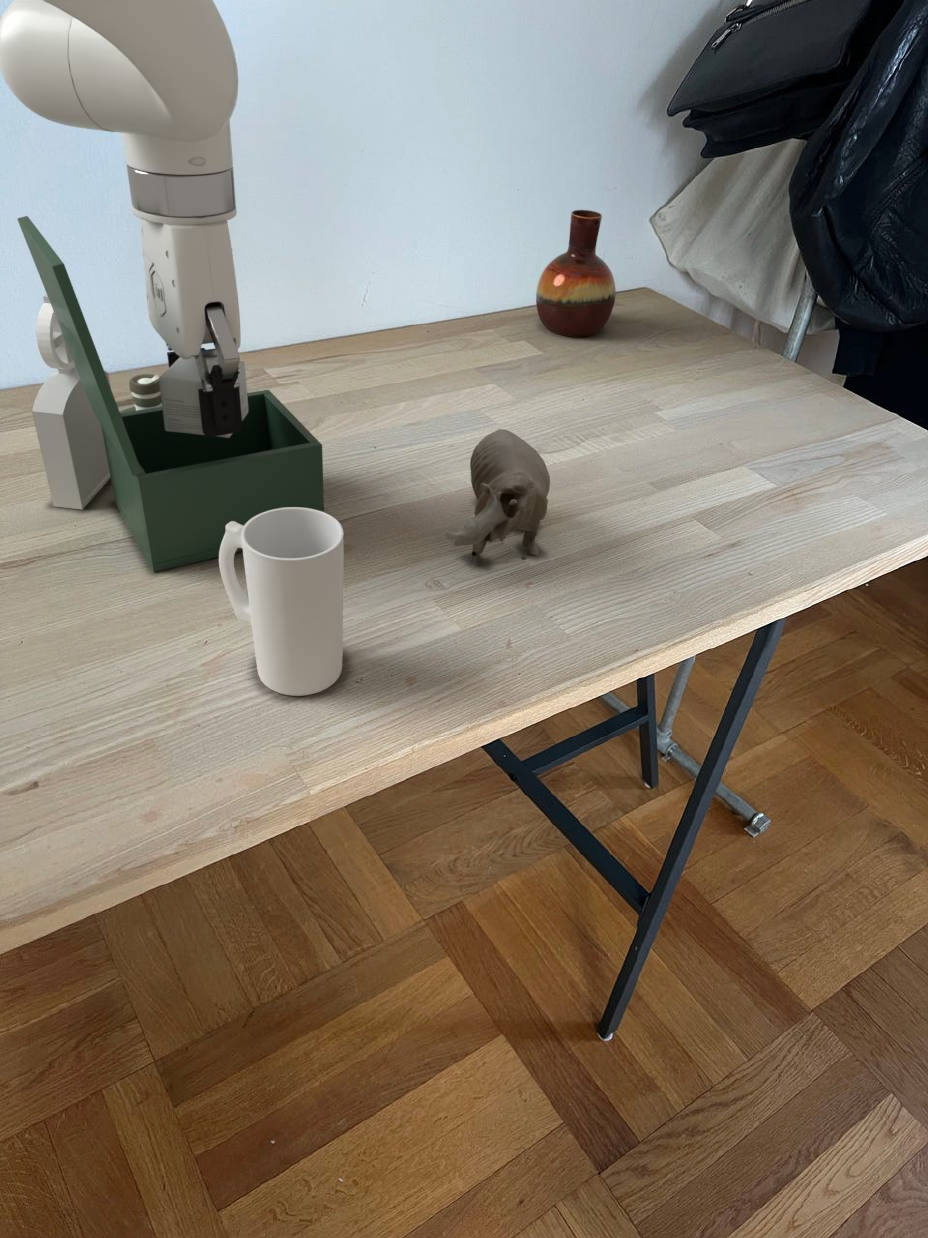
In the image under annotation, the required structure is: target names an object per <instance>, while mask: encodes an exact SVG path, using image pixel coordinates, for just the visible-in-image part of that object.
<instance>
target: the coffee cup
mask: <svg viewBox="0 0 928 1238" xmlns="http://www.w3.org/2000/svg"><path fill="white" fill-rule="evenodd" d="M159 377H160V376H159V375H158V374H152V373H143V374H137V375H134V376H132V377H131V378H130V379H129V383H128V384H129V386H128V387H129V391H130V392H131V396H132V400H133V403H134V406H132V407H129V408H125V409H123V410H121V411H119V412H120V413H125V412H131V411H137V410H144V409H150V408H156V407H162V401H161V393H160V386H159V379H158V378H159Z"/></svg>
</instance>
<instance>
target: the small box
mask: <svg viewBox="0 0 928 1238" xmlns="http://www.w3.org/2000/svg"><path fill="white" fill-rule="evenodd" d="M206 362H207V366H208V370H209V374H210V372H211V370H212V367H213V365H218V363H217V358H216V359H209V360H206ZM245 364H246V363H245V361H244V360H239V365H238V368H239V369H238V371H239V374H238V377H239V381H240V388H239V390H240V403H241V415H242V421H243V419H244V418H245V417H246V415H247V414H248V398H247V393H248V387H247V374H246V365H245ZM158 379H159V386H160V393H161V401H162V409H163V417H164V427H165V430H166V431H170V432H180V433H190V434H198V435H205V434H204V433H203V430H202V421H201V412H200V403H199V394H198V389H203V388H202V384H201V380H200V376H199V372H198V368H197V364H196V360H195V356H190V358H189V359H183V358H181V357H180V358H179V359H177V361H176V362H175V363H174V364H173V365H172V366H171V367H170V368H169V367H168V368H167V369H166V370H165V371H164V372H163V373H162V374H161V375H160V376H159V378H158ZM232 434H233V433H231V434H225V435H219V436H216V437H224V438H230V436H231V435H232Z"/></svg>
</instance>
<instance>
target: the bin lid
mask: <svg viewBox="0 0 928 1238" xmlns="http://www.w3.org/2000/svg"><path fill="white" fill-rule="evenodd" d="M17 222H18V225H19V227H20V230H21V232H22V235H23V238H24V240H25V242H26V245H27V248H28V250H29V253H30V255H31V258H32V260H33V263H34V265H35V268H36V271H37V273H38V275H39V278H40V281H41V283H42V285H43V288H44V290H45V293H46V294H47V296H48V298H49V301H50V303H51V306H52V308H53V311H54V313H55V316H56V318H57V321H58V323H59V326H60V328H61V331H62V333H63V336H64V339H65V341H66V344H67V346H68V349H69V351H70V354H71V356H72V359H73V361H74V364H75V366H76V369H77V371H78V374H79V376H80V379H81V381H82V384H83V387H84V389H85V392H86V394H87V397H88V399H89V402H90V404H91V407H92V409H93V412H94V414H95V415H96V417H97V419H98V420H99V422H100V424H101V425H102V427H103V428H104V430H105V432H106V433H107V435H108V437H109V438H110V440H111V442H112V443H113V445H114V447H115V448H116V450H117V451H118V453H119V455H120V456H121V458H122V460H123V461H124V463H125V465H126V466H127V468H128V470H129V471H130V473H131V474H132V476H134V475H137V474H140V473H142V471H141V468H140V465H139V463H138V460H137V457H136V455H135V452H134V449H133V447H132V444H131V441H130V439H129V436H128V433H127V431H126V428H125V425H124V423H123V420H122V417H121V415H120V412H121V411H120V410H119V407H118V404H117V402H116V399H115V396H114V393H113V391H112V387H111V388H110V386H111V384H110V385H109V382H108V380H107V377H106V374H105V372H104V371H105V369H104V366H103V364H102V361H101V359H100V356H99V353H98V351H97V348H96V345H95V343H94V340H93V337H92V335H91V332H90V329H89V327H88V324H87V321H86V319H85V316H84V314H83V313H84V312H83V310H82V308H81V305H80V303H79V299H78V297H77V295H76V292H75V289H74V286H73V283H72V282H71V279H70V276H69V273H68V270H67V268H66V265H65V263H64V262H63V261H62V259H61V258H60V257H59V255H58V254H57V253H56V251H55V250H54V249H53V247H52V246H51V245H50V243H49V242H48V241H47V240H46V238H45V237H44V235H43V234H42V233H41V232H40V230H39V229H38V228H37V226H36V225H35V224H34V222H33V221H32V220H31V218H30V217H29V216H28V215H25V216H20V217H18V218H17Z"/></svg>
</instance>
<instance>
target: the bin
mask: <svg viewBox="0 0 928 1238" xmlns="http://www.w3.org/2000/svg"><path fill="white" fill-rule="evenodd" d="M247 398H248V414H247V415H246V417H245V418H244V419H243V421H242V430H241V431H240V432H237V433H233V434H232V435H231V436H230V438H224V437H216V436H214V437H206V436H205V435H198V434H190V433H180V432H170V431H166V430H165V427H164V417H163V409H162V407H156V408H150V409H144V410H137V411H131V412H125V413H120V415H121V417H122V420H123V423H124V425H125V428H126V431H127V433H128V436H129V439H130V441H131V444H132V447H133V449H134V452H135V455H136V457H137V460H138V463H139V465H140V468H141V471H142V473H140V474H137V475H134V476H132V474H131V473H130V471H129V470H128V468H127V466H126V465H125V463H124V461H123V460H122V458H121V456H120V455H119V453H118V451H117V450H116V448H115V447H114V445H113V443H112V442H111V440H110V438H109V437H108V435H107V433H106V432H105V430H104V428H103V427H102V425H101V427H102V433H103V438H104V444H105V449H106V455H107V460H108V465H109V471H110V476H111V478H110V481H111V486H112V491H113V492H112V493H113V497H114V504H115V505H116V507H117V509H118V510H119V512H120V514H121V516H122V518H123V520H124V521H125V523H126V525H127V527H128V529H129V530H130V532H131V534H132V536H133V537H134V539H135V542H136V544H137V545H138V547H139V549H140V550H141V553H142V554H143V556H144V557H145V559H146V561H147V563H148V564H149V566H150V568H151V570H152V572H153V573H156V572H157V573H158V572H161V571H165V570H169V569H174V568H178V567H182V566H186V565H191V564H194V563H198V562H202V561H203V562H204V561H207V560H212V559H215V558H219V551H220V546H221V543H222V540H223V537H224V535H225V532H226V528H225V527H226V525H227V524H228V523H229V522H231V521H235V522H237V523H238V524H241V525H243V526H244V525H245V524H246V523H247V522H248V521H249V520H250V519H251V518H253V517H254V516H256V515H258V514H261V513H263V512H266V511H269V510H273V509H278V508H287V507H302V508H310V509H315V510H319V511H322V512H324V513H325V499H324V498H325V496H324V494H325V493H324V464H323V463H324V462H323V460H324V459H323V458H324V457H323V444H322V443H321V442H320V441H319V440H318V439H317V438H316V436H314V435H313V433H312V432H310V431H309V429H308V428H307V427H305V425H303V423H302V422H301V421H300V420H299V419H298V418H297V417H296V416H295V415H294V414H293V413H292V412H291V411H290V410H289V409H288V408H287V407H286V406H285V405H284V404H283V403H282V402H281V401H280V400H279V398H277V396H276V395H274V393H273V392H272V391H271V390H270V389H263V390H257V391H250V392H247ZM240 552H243V549H242V548H237V550H236V552H235V554H237V553H240Z"/></svg>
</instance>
